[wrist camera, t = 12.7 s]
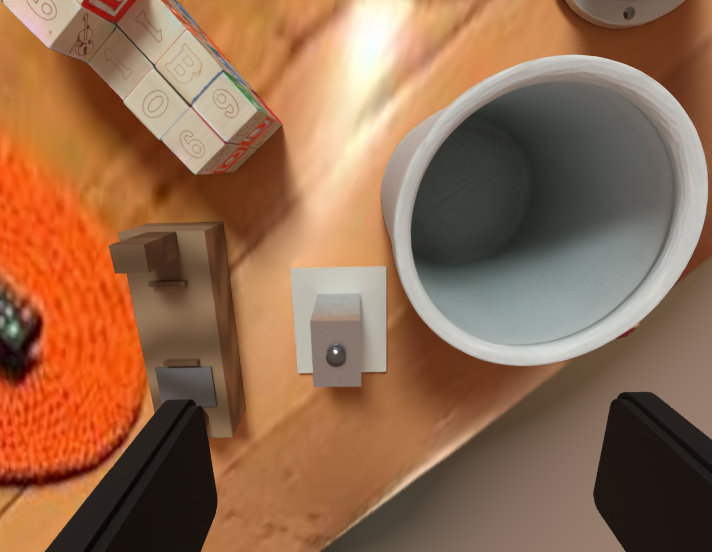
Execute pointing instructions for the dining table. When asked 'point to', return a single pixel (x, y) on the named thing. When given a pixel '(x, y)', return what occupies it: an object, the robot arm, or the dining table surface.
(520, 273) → the utensil holder
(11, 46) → the dining table surface
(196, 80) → the stack of blocks
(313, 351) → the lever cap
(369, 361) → the pad
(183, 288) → the plane body
